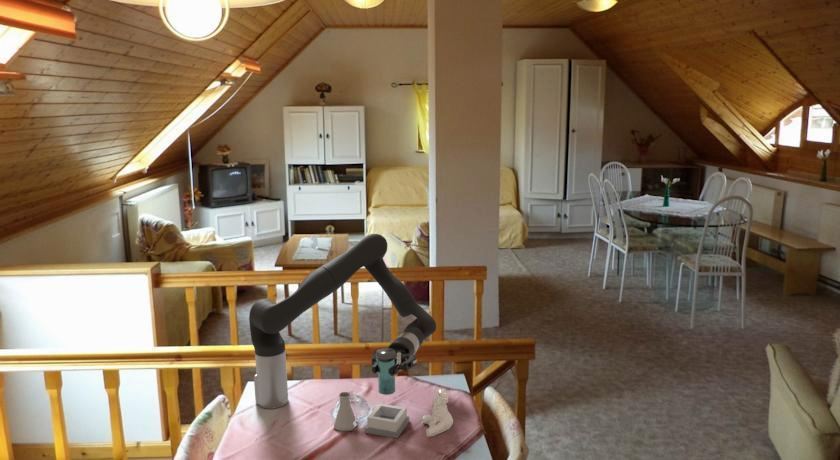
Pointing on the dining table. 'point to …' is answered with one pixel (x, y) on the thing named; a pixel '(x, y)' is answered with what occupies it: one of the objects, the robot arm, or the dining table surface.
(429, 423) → the seated beast figurine
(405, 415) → the dock
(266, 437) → the dining table surface
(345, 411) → the flask
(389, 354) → the teal capped jar
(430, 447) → the dining table surface
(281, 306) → the robot arm
